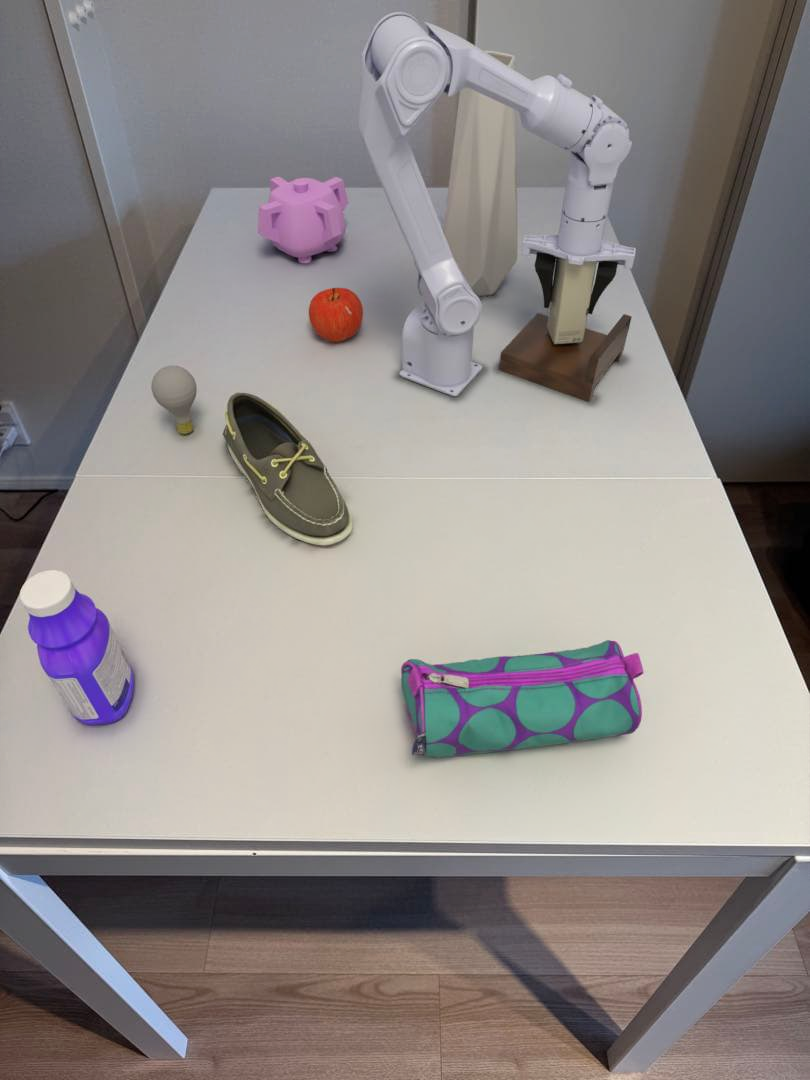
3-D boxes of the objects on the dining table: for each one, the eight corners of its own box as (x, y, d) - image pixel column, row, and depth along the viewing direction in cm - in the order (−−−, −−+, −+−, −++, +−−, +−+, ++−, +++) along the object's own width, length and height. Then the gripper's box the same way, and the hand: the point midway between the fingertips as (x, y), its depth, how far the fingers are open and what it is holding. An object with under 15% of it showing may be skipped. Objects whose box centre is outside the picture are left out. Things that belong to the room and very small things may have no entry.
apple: (374, 337, 117) (372, 289, 111) (330, 356, 113) (325, 308, 107) (344, 314, 121) (341, 267, 115) (301, 332, 118) (295, 284, 112)
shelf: (498, 370, 111) (503, 327, 106) (535, 329, 118) (540, 288, 112) (589, 402, 106) (598, 359, 101) (621, 358, 113) (631, 316, 107)
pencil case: (412, 779, 70) (412, 729, 63) (400, 694, 76) (399, 639, 69) (633, 752, 72) (658, 700, 64) (605, 671, 77) (625, 615, 70)
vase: (525, 278, 128) (553, 53, 103) (492, 311, 121) (513, 78, 97) (462, 259, 132) (473, 38, 107) (426, 289, 126) (430, 62, 101)
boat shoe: (366, 538, 90) (363, 493, 84) (290, 567, 87) (281, 523, 81) (288, 418, 104) (281, 373, 98) (220, 440, 101) (209, 395, 96)
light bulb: (215, 425, 103) (200, 363, 96) (191, 450, 100) (173, 387, 92) (182, 414, 105) (164, 352, 97) (157, 438, 101) (137, 376, 94)
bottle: (85, 668, 78) (19, 557, 65) (141, 663, 78) (87, 553, 65) (70, 733, 73) (-4, 628, 60) (130, 728, 74) (70, 622, 61)
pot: (317, 214, 143) (311, 149, 134) (378, 248, 135) (376, 181, 126) (236, 247, 135) (224, 180, 126) (296, 285, 127) (288, 216, 118)
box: (583, 344, 109) (600, 259, 99) (552, 345, 109) (566, 260, 99) (574, 323, 113) (590, 239, 103) (544, 324, 112) (557, 240, 103)
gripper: (522, 219, 96) (512, 315, 106) (641, 233, 93) (618, 330, 104) (531, 194, 100) (520, 289, 111) (644, 207, 98) (622, 302, 108)
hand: (568, 307), depth 107 cm, fingers closed on box, 5 cm apart
